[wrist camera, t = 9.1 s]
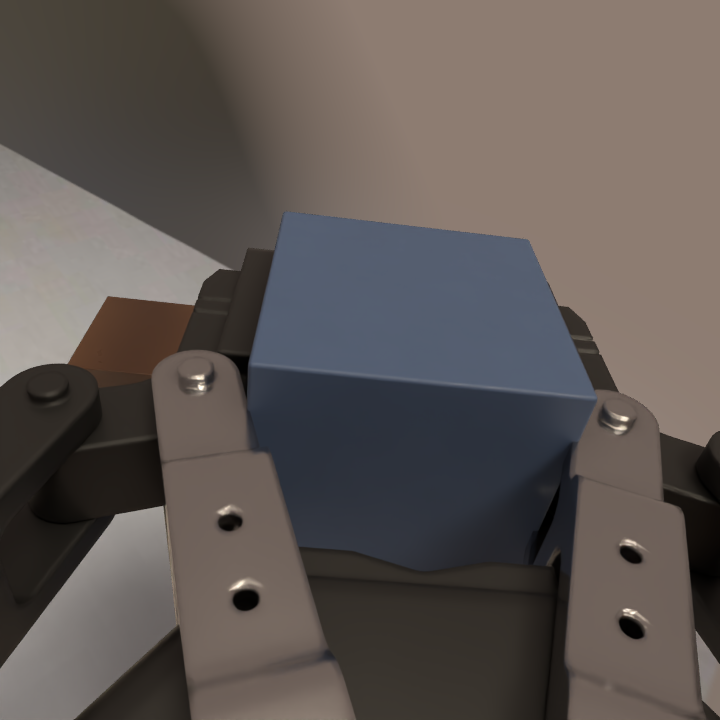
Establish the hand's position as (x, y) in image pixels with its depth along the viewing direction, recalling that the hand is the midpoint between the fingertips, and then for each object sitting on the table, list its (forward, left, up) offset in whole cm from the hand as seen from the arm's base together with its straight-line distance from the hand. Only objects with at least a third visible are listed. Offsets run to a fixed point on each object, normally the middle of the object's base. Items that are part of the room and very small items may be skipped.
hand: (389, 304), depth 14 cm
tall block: (0, +3, -8) cm, 8 cm away
